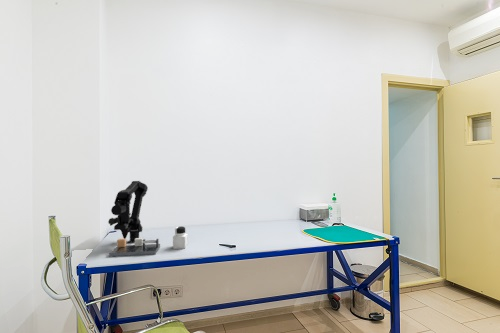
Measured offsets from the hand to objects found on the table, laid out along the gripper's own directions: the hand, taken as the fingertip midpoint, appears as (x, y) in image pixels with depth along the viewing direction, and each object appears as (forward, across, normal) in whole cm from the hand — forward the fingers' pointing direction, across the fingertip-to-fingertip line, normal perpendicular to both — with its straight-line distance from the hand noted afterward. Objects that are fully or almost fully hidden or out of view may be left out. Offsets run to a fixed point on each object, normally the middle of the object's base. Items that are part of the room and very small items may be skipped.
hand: (124, 238), depth 163 cm
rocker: (0, +10, +17) cm, 20 cm away
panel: (+5, +10, +9) cm, 15 cm away
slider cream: (+3, +6, +9) cm, 12 cm away
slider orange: (+3, +6, 0) cm, 7 cm away
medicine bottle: (+6, +5, +33) cm, 34 cm away
